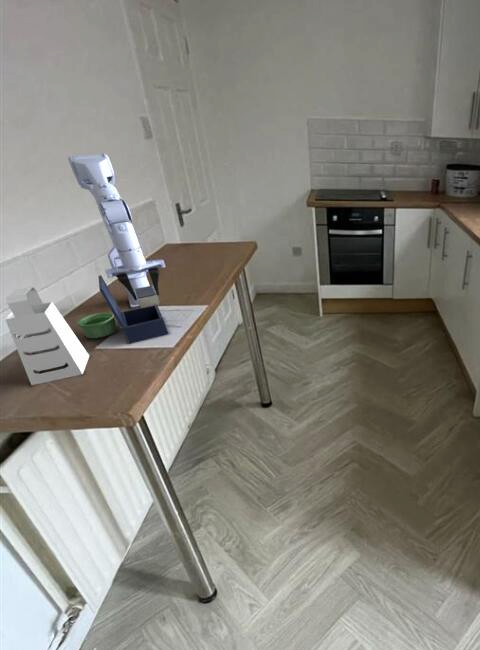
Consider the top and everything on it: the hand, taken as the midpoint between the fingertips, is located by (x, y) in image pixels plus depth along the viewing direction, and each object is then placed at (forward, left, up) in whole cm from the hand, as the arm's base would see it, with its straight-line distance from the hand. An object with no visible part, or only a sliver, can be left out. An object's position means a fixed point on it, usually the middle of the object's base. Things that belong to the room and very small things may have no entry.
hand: (146, 296), depth 121 cm
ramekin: (-3, -14, -8) cm, 17 cm away
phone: (0, 0, -1) cm, 1 cm away
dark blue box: (+3, -3, -9) cm, 10 cm away
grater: (+16, -24, -9) cm, 30 cm away
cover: (+3, -8, +2) cm, 9 cm away
